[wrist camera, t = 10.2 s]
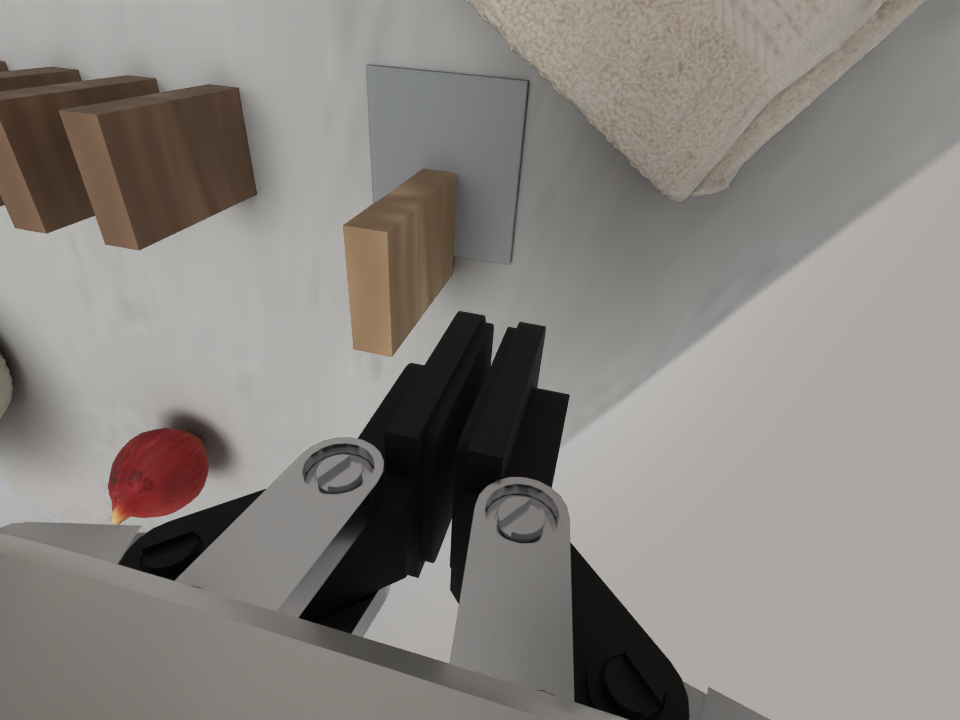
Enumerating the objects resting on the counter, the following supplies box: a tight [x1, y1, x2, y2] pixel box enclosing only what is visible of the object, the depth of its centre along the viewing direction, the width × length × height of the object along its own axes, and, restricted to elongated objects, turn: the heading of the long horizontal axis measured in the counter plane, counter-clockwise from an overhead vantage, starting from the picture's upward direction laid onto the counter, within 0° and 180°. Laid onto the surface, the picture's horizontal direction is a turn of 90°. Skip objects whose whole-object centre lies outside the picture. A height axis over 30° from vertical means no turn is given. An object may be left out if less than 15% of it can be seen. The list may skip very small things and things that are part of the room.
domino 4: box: [343, 169, 456, 357], centre depth 23 cm, size 2×5×8 cm, turn 176°
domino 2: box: [0, 75, 159, 234], centre depth 24 cm, size 2×5×8 cm, turn 176°
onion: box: [108, 428, 209, 525], centre depth 37 cm, size 6×6×8 cm
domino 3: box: [59, 84, 257, 250], centre depth 23 cm, size 2×5×8 cm, turn 176°
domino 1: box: [0, 67, 81, 206], centre depth 25 cm, size 2×5×8 cm, turn 176°
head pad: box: [366, 65, 529, 265], centre depth 25 cm, size 7×8×1 cm
